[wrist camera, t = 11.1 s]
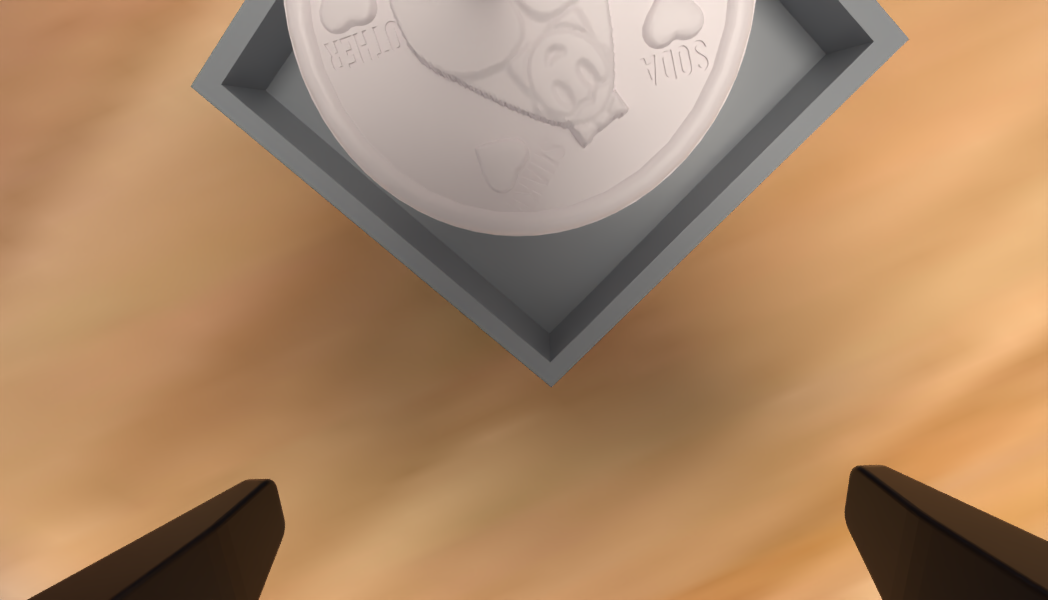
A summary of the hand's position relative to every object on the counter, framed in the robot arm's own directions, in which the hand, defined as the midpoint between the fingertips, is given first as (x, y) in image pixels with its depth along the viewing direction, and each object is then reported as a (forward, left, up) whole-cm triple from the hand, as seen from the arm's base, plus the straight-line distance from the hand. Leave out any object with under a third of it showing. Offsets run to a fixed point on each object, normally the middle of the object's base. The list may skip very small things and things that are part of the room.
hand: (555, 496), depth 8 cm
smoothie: (-5, +5, -11) cm, 13 cm away
